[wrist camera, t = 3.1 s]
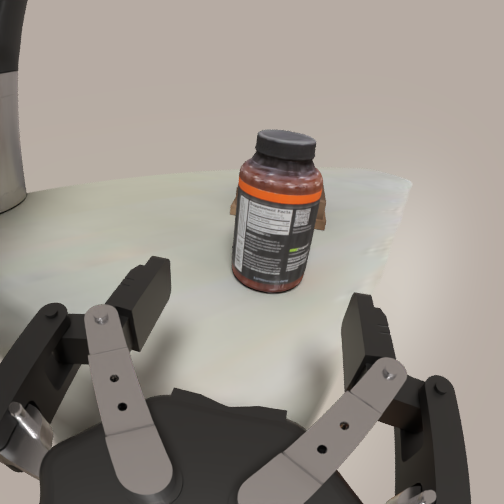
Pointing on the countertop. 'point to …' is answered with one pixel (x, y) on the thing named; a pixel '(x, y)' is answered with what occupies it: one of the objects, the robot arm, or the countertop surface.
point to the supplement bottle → (276, 211)
